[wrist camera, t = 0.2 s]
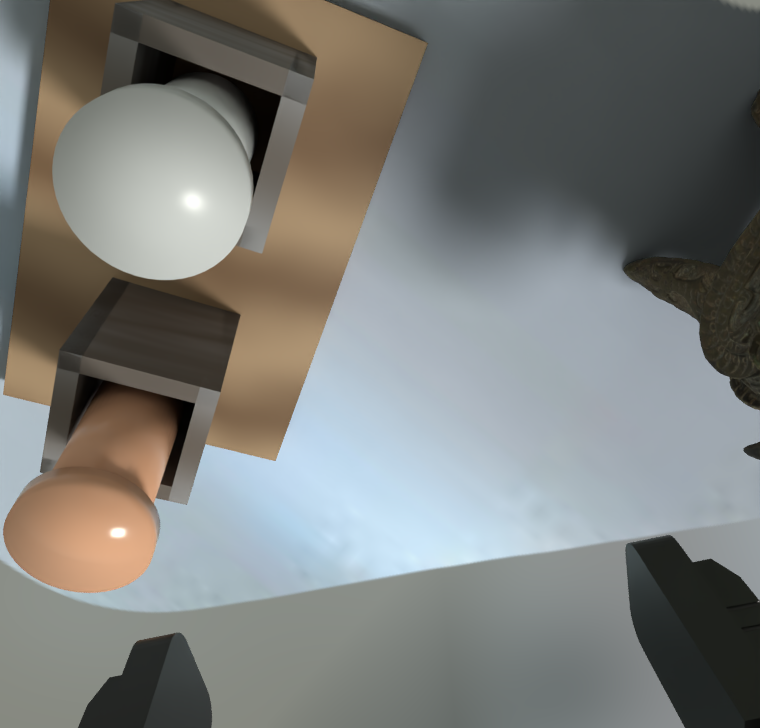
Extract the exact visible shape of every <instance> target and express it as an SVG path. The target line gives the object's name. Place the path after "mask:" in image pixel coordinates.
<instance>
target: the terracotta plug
mask: <svg viewBox="0 0 760 728" xmlns="http://www.w3.org/2000/svg"><path fill="white" fill-rule="evenodd" d="M183 412H184V407H183V401H182V400H180V399H176V398H172V397H169V396H165V395H161V394H157V393H153V392H149V391H145V390H141V389H137V388H134V387H130V386H126V385H122V384H118V383H114V382H110V381H106V380H104V381H103V382H102V384H101V385H100V387H99V388H98V390H97V392H96V394H95V396H94V397H93V399H92V401H91V403H90V404H89V406H88V408H87V410H86V412H85V413H84V415H83V417H82V419H81V420H80V422H79V424H78V426H77V428H76V429H75V431H74V433H73V435H72V436H71V438H70V440H69V442H68V443H67V445H66V447H65V449H64V451H63V452H62V454H61V456H60V458H59V459H58V461H57V463H56V465H55V467H54V468H53V470H51V471H48V472H46V473H43V474H41V475H39V476H38V477H36V478H35V479H33V480H32V481H30V482H29V483H28V484H27V485H26V486H25V488H24V489H23V491H22V492H21V493H20V495H19V497H18V498H17V500H16V502H15V503H14V505H13V507H12V508H11V510H10V512H9V513H8V515H7V518H6V520H5V523H4V529H3V535H4V542H5V545H6V547H7V550H8V552H9V553H10V555H11V557H12V558H13V559H14V561H15V562H16V563H17V564H18V565H19V566H20V567H21V568H22V569H23V570H24V571H26V572H27V573H28V574H30V575H31V576H33V577H34V578H36V579H38V580H40V581H41V582H43V583H46V584H48V585H51V586H53V587H56V588H60V589H64V590H68V591H74V592H84V593H96V592H105V591H110V590H114V589H118V588H120V587H123V586H125V585H127V584H130V583H131V582H133V581H134V580H136V579H137V578H138V577H140V576H141V575H142V574H143V573H144V571H145V570H146V569H147V567H148V566H149V564H150V562H151V559H152V557H153V553H154V550H155V547H156V543H157V540H158V537H159V532H160V519H159V515H158V512H157V509H156V507H155V505H154V501H155V498H156V495H157V492H158V489H159V486H160V483H161V480H162V477H163V474H164V471H165V468H166V465H167V462H168V459H169V456H170V453H171V450H172V447H173V444H174V441H175V438H176V435H177V432H178V429H179V426H180V423H181V420H182V417H183Z"/></svg>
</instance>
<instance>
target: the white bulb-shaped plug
mask: <svg viewBox="0 0 760 728" xmlns="http://www.w3.org/2000/svg"><path fill="white" fill-rule="evenodd" d="M257 141H258V124H257V119H256V116H255V112H254V110H253V108H252V106H251V104H250V102H249V100H248V99H247V97H246V96H245V95H244V94H243V92H242V91H241V90H240V89H239V88H238V87H237V86H235V85H234V84H233V83H231V82H230V81H228V80H227V79H225V78H223V77H221V76H218V75H215V74H212V73H207V72H191V73H186V74H183V75H180V76H178V77H176V78H174V79H173V80H171V81H169V82H168V83H166V84H165V85H161V84H148V83H141V84H133V85H127V86H124V87H120V88H117V89H115V90H112V91H110V92H108V93H106V94H104V95H102V96H100V97H98V98H96V99H94V100H92V101H91V102H89V103H88V104H86V105H84V106H83V107H82V108H81V109H80V110H79V111H77V112H76V113H75V114H74V115H73V116H72V118H71V119H70V120H69V121H68V123H67V124H66V125H65V127H64V129H63V131H62V132H61V134H60V136H59V139H58V142H57V144H56V147H55V152H54V157H53V167H52V175H53V185H54V190H55V195H56V198H57V201H58V204H59V207H60V210H61V212H62V214H63V216H64V218H65V220H66V222H67V223H68V225H69V226H70V228H71V229H72V231H73V232H74V233H75V235H76V236H77V237H78V238H79V240H80V241H81V242H82V243H83V244H84V245H85V246H86V247H87V248H88V249H89V250H90V251H91V252H93V253H94V254H95V255H96V256H98V257H99V258H100V259H102V260H103V261H105V262H106V263H108V264H110V265H111V266H113V267H115V268H117V269H119V270H121V271H123V272H126V273H129V274H132V275H135V276H139V277H143V278H147V279H155V280H175V279H183V278H187V277H191V276H195V275H197V274H200V273H202V272H205V271H206V270H208V269H210V268H212V267H214V266H215V265H216V264H218V263H219V262H220V261H222V260H223V259H224V258H225V257H226V256H227V255H228V254H229V253H230V252H231V251H232V249H233V248H234V246H235V245H236V244H237V242H238V240H239V238H240V237H241V235H242V233H243V230H244V227H245V225H246V222H247V219H248V216H249V213H250V210H251V205H252V200H253V188H254V187H253V175H252V170H251V164H250V161H251V159H252V157H253V154H254V152H255V149H256V146H257Z"/></svg>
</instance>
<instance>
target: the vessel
mask: <svg viewBox="0 0 760 728" xmlns="http://www.w3.org/2000/svg"><path fill="white" fill-rule="evenodd" d="M751 115H752V117H753V118H754V120H755V122H756V124H757V126H758V127H759V128H760V90H759V91H758V94H757V97H756V99H755V101H754V103H753V104H752V107H751ZM624 272H625V274H626V275H627V276H628V277H629V278H631V279H632V280H634V281H635V282H638V283H639V284H641V285H642V286H643V287H645V288H646V289H647V290H649V291H651V292H652V294H653V295H654V296H656V297H657V298H659V299H662V300H664V301H666V302H668V303H670V304H672V305H674V306H675V307H676V308H678V309H680V310H682V311H684V312H686V313H688V314H689V315H691V316H692V317H693V318H695V319H697V320H698V322H699V323H700V330H699V335H700V341H701V347H702V349H703V353H704V356H705V358H706V359H707V360H708V362H709V363H710V364H711V365H712V366H713V367H714V368H715V369H716V370H717V371H718V372H719V373H721V374H723V375H725V376H728V377H730V386H731V388H732V390H733V391H734V393H735V395H736V397H737V398H738V399H740V400H741V401H742V402H743V403H745V404H746V405H748V406H750V407H751V408H754V409H758V410H760V210H759V211H758V213H757V214H756V215H755V217H754V218H753V220H752V221H751V222H750V224H749V225H748V226H747V228H746V229H745V230H744V232H743V233H742V234H741V236H740V237H739V239H738V240H737V242H736V243H735V244H734V246H733V247H732V249H731V250H730V252H729V253H728V255H727V257H726V259H725V260H724V262H723V263H722V265H721V266H718V265H714V264H711V263H705V262H701V261H697V260H692V259H683V258H668V257H651V258H646V259H640V260H637V261H634V262H632V263H630V264H628V265H626V267H625V268H624ZM744 452H745V453H746V454H747V455H749V456H751V457H754V458H756V459H759V460H760V442H758V443H755V444H752V445H749V446H747V447H745V448H744Z"/></svg>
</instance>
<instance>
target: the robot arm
mask: <svg viewBox="0 0 760 728" xmlns="http://www.w3.org/2000/svg"><path fill="white" fill-rule="evenodd" d="M626 564H627V577H628V589H629V601H630V610H631V616H632V621H633V625H634V628H635V631H636V634H637V637H638V639H639V642H640V644H641V646H642V648H643V650H644V652H645V654H646V656H647V658H648V660H649V661H650V663H651V665H652V667H653V669H654V671H655V673H656V674H657V676H658V678H659V680H660V682H661V684H662V686H663V688H664V689H665V691H666V693H667V695H668V697H669V699H670V700H671V703H672V704H673V706H674V708H675V710H676V712H677V714H678V716H679V717H680V719H681V721H682V723H683V725H684V727H685V728H760V601H759V600H758V599H757V597H756V596H755V595H754V593H753V592H752V591H751V590H750V589H749V587H748V586H747V585H746V584H745V582H744V581H743V580H742V579H741V577H739V576H738V575H736V574H734V573H733V572H731V571H730V570H728V569H727V568H725V567H723V566H722V565H720V564H719V563H717V562H715V561H714V560H712V559H707V560H702V561H697V562H692V561H691V560H690V558H689V557H688V556H687V554H686V553H685V552H684V550H683V549H682V548H681V546H680V545H679V543H678V542H677V541H676V540H675V538H673V537H672V536H671V535H666V536H661V537H656V538H651V539H647V540H642V541H637V542H632V543H628V544H627V545H626ZM211 725H212V711H211V702H210V697H209V694H208V691H207V688H206V686H205V683H204V681H203V679H202V676H201V674H200V672H199V669H198V667H197V665H196V662H195V660H194V657H193V655H192V653H191V650H190V648H189V646H188V644H187V641H186V639H185V637H184V636H183V635H182V634H181V633H174V634H169V635H164V636H159V637H154V638H149V639H144V640H139V641H137V642H136V643H135V644H134V646H133V648H132V650H131V653H130V655H129V658H128V660H127V663H126V666H125V668H124V671H123V674H122V675H121V676H115V677H110V678H109V679H108V680H107V682H106V683H105V684H104V685H103V686H102V688H101V689H100V690H99V691H98V693H97V694H96V695H95V696H94V698H93V699H92V700H91V701H90V703H89V704H88V705H87V707H86V710H85V712H84V715H83V717H82V720H81V722H80V724H79V727H78V728H211Z"/></svg>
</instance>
